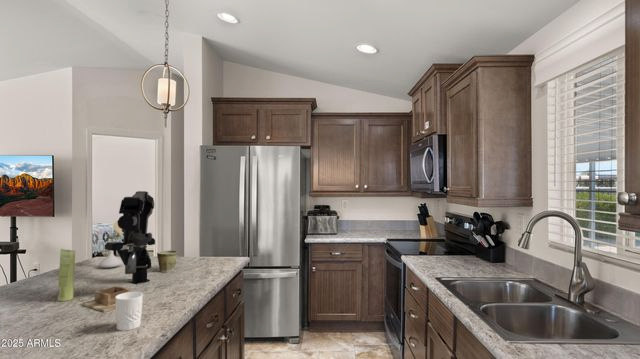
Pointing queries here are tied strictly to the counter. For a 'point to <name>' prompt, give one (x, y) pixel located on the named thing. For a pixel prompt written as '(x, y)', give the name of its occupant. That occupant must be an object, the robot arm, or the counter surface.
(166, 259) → the ceramic cup
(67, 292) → the tube
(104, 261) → the flower in vase
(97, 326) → the counter surface
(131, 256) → the peg
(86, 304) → the well
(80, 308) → the counter surface
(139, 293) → the white cup
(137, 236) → the robot arm
